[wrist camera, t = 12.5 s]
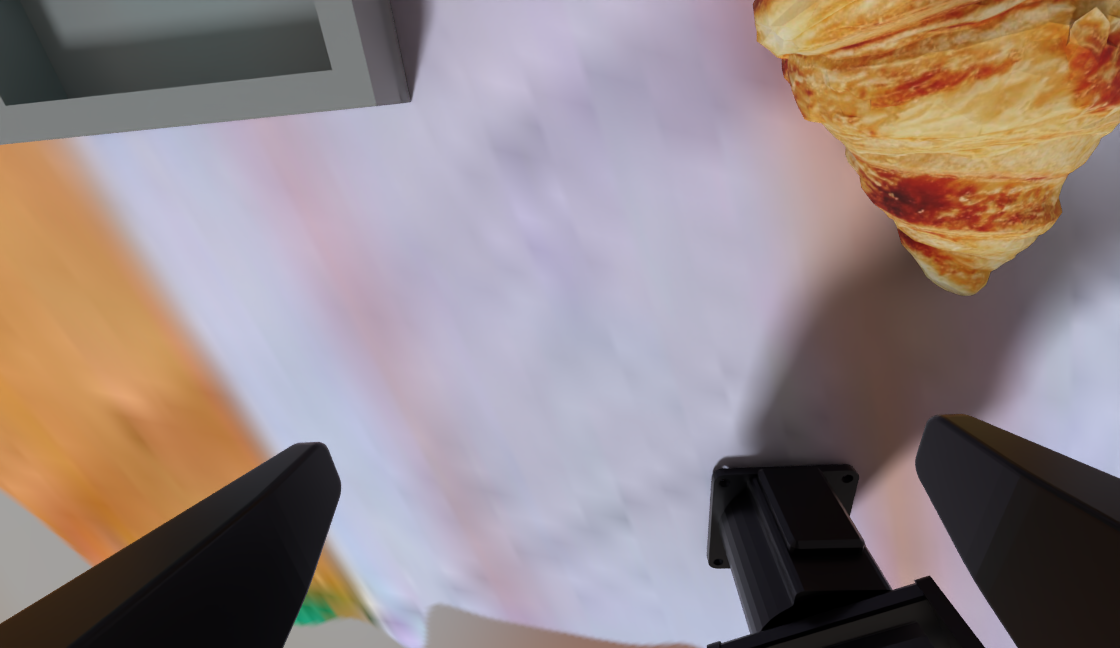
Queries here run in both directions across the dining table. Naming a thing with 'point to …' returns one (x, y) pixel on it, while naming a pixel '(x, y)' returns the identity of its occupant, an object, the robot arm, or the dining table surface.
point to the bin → (189, 63)
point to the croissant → (955, 111)
